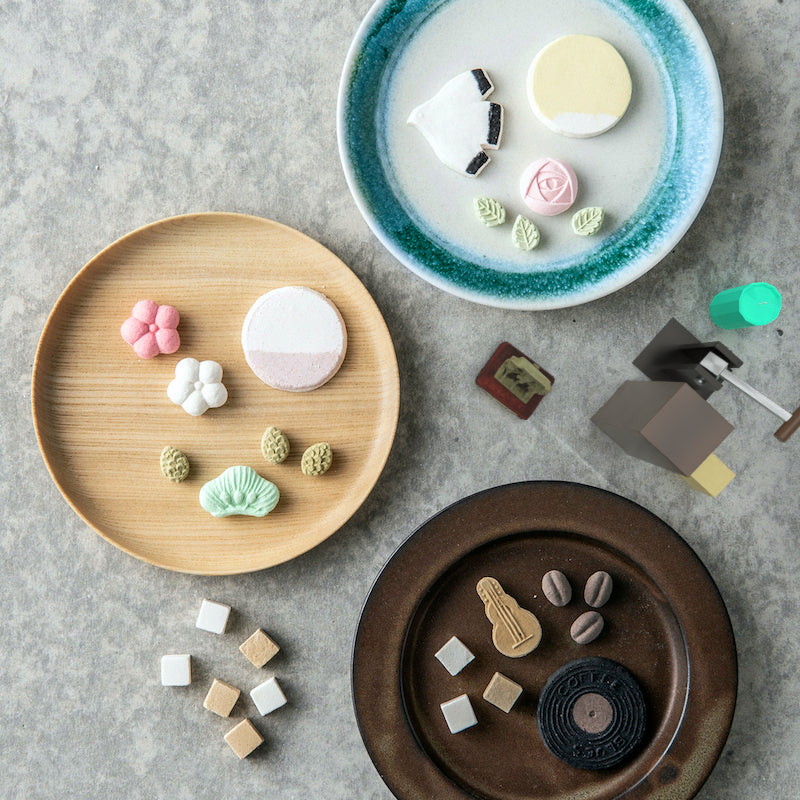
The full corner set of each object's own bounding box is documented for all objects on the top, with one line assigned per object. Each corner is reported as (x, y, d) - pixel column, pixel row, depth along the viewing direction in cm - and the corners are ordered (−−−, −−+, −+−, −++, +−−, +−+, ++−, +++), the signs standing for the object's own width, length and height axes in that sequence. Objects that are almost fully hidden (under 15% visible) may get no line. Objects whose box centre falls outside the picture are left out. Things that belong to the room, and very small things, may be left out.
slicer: (729, 370, 108) (776, 370, 94) (688, 415, 108) (729, 421, 94) (670, 317, 107) (708, 309, 94) (629, 362, 108) (661, 361, 94)
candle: (702, 326, 107) (739, 320, 95) (710, 286, 107) (748, 276, 95) (742, 333, 107) (783, 328, 95) (749, 294, 107) (792, 284, 95)
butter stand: (663, 415, 108) (735, 428, 84) (626, 454, 108) (688, 478, 84) (624, 379, 108) (685, 382, 84) (588, 418, 108) (638, 432, 84)
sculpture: (470, 383, 108) (479, 385, 93) (501, 340, 108) (516, 334, 93) (522, 421, 108) (540, 429, 93) (554, 377, 108) (577, 379, 93)
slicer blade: (812, 412, 91) (816, 408, 89) (783, 444, 92) (786, 441, 89) (717, 347, 97) (718, 341, 95) (690, 377, 97) (690, 372, 95)
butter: (712, 467, 108) (736, 475, 100) (692, 488, 108) (715, 498, 100) (688, 445, 108) (710, 451, 100) (668, 466, 108) (689, 474, 100)
